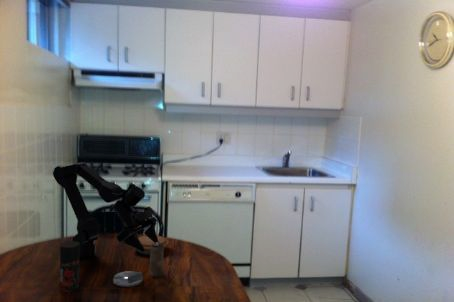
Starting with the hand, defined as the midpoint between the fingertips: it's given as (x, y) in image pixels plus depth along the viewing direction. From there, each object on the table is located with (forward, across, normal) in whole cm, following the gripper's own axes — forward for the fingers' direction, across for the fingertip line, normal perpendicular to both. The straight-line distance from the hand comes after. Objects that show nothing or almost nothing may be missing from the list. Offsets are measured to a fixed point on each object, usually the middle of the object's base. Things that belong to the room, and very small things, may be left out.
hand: (151, 247), depth 142 cm
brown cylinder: (+9, 0, +5) cm, 10 cm away
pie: (-2, +20, +16) cm, 26 cm away
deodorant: (-5, -23, +19) cm, 30 cm away
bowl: (+5, -9, +9) cm, 14 cm away
